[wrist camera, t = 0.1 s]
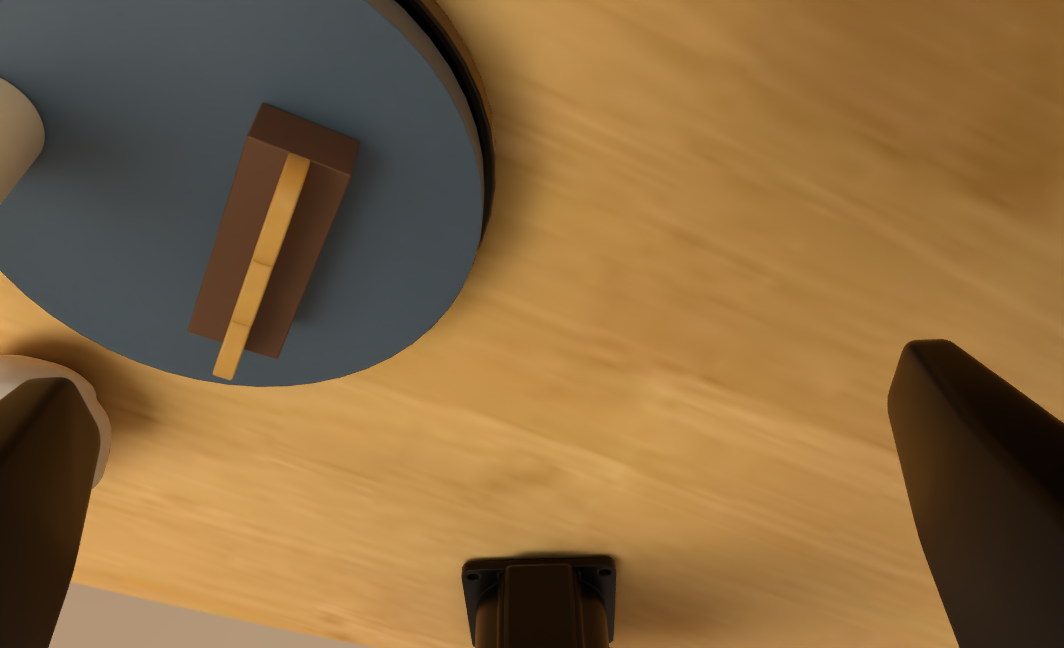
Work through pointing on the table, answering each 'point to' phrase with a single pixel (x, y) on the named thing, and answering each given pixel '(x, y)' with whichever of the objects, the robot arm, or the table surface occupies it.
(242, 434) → the table surface
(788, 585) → the table surface
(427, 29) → the turntable base
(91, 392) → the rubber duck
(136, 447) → the table surface
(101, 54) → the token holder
